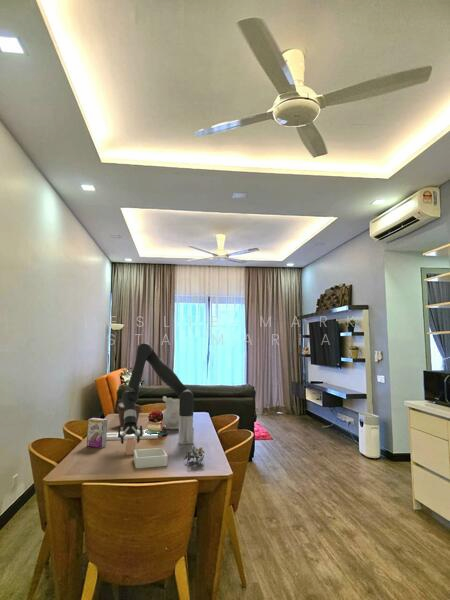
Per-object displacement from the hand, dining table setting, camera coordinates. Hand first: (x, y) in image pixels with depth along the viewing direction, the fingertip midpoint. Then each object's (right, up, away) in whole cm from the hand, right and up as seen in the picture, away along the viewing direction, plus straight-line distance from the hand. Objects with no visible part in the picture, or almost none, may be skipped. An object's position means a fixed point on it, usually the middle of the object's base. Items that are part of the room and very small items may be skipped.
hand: (130, 442), depth 213 cm
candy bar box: (-24, -8, +13) cm, 29 cm away
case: (-21, -16, +75) cm, 79 cm away
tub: (0, -6, -1) cm, 6 cm away
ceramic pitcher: (+16, -16, +70) cm, 73 cm away
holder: (-15, -12, +40) cm, 44 cm away
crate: (+15, -4, -17) cm, 23 cm away
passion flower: (+39, -4, -19) cm, 43 cm away
